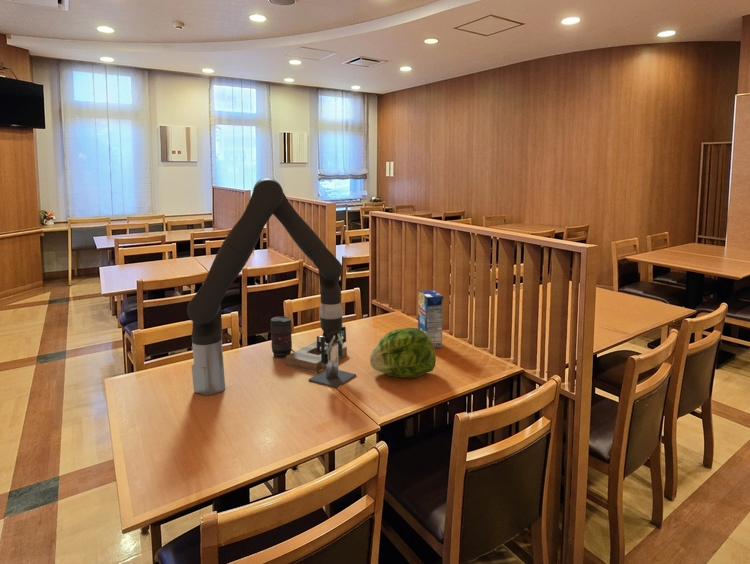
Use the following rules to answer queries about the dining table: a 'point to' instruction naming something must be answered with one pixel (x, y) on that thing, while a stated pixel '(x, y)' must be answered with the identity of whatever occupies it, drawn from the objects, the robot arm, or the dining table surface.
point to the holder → (309, 358)
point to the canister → (332, 362)
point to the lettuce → (404, 353)
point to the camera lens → (281, 336)
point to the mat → (333, 383)
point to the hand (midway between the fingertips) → (332, 359)
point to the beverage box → (431, 315)
